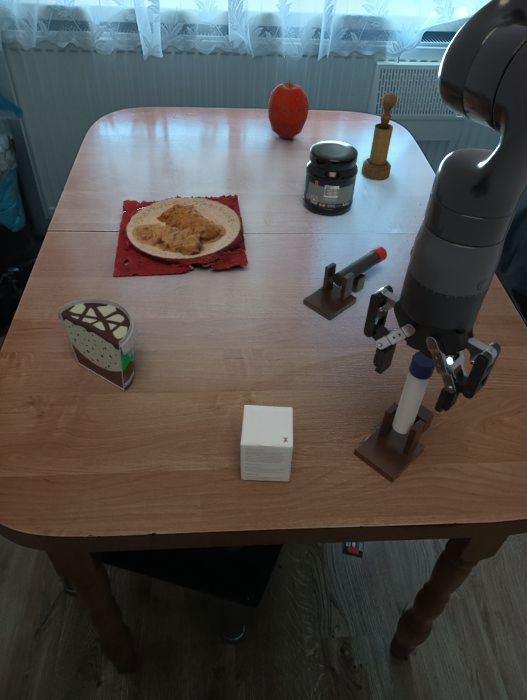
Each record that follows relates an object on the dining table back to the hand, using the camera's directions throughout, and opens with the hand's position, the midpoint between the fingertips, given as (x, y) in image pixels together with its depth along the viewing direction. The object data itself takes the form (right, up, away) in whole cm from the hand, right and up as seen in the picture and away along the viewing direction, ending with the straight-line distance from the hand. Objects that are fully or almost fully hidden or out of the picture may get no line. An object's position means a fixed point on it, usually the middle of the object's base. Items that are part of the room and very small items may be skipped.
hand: (410, 387), depth 61 cm
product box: (-16, -10, +7) cm, 20 cm away
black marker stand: (-4, +13, +31) cm, 34 cm away
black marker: (0, +18, +32) cm, 37 cm away
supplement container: (-3, +35, +55) cm, 65 cm away
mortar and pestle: (+10, +46, +66) cm, 81 cm away
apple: (-11, +65, +75) cm, 100 cm away
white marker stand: (0, -8, +9) cm, 12 cm away
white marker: (+2, 0, +3) cm, 3 cm away
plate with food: (-33, +26, +44) cm, 61 cm away
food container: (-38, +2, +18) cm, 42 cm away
